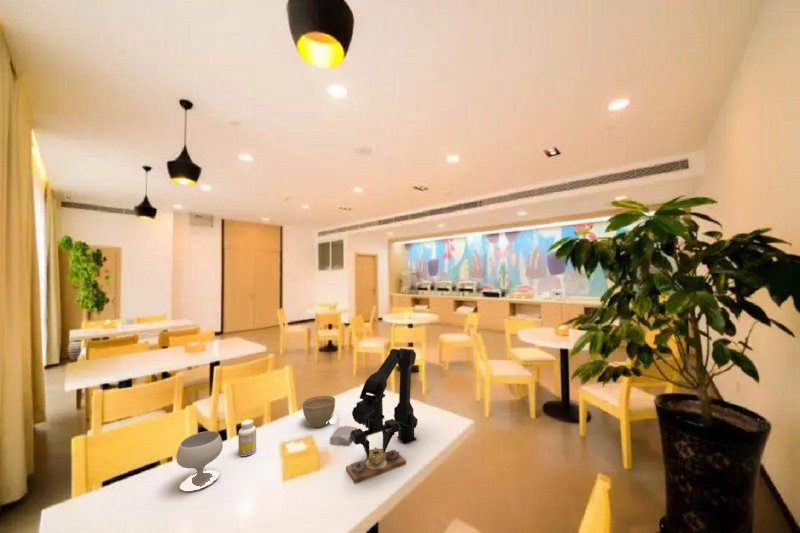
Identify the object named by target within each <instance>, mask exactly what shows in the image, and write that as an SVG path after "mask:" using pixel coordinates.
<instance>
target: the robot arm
mask: <svg viewBox="0 0 800 533" xmlns="http://www.w3.org/2000/svg"><path fill="white" fill-rule="evenodd" d="M416 357H417V353H416V352H415V351H414V349H410V348H403V347H402V348H398V349H397V348H393V349H390V351H389V354H388V355H387V357H386V358H385V360H384V361H383V363H382V364H381V366H380V367H379V368H378V369H377V371H375V372H374V373H372V374H370V376H369V377H368V378H366V380H365V382H364V384H363V387H362V390H361V393H360V396H359V399H360V401H357V402H356V406H354V407H353V409H352V412H351V415H352V418H353V420H354V421H355V423H358V425H362V426H364V427H365V429H366V430H363V429H361V427H359V428H357V429H356V430H352V431H351V433H350V438H351V440H352V442H353V444H355V445H361V446H362V447H363V450H364V453H365V454H366V455H367V457H369V449H370V441H369V440H368V437H369V436H372V435H375V434H379V433H382V448H383V451H386V450H387V449H388V446H389V443H390V442H391V440H392V437H394V436H395V433H397V435H398V436H397V437H396V438H397V439H398V440H399V441H400V442H401V443H403V445H406V444H408V443H412V442H414V441H415V442H416V441H417V438H416V436H415V428H417V425H418V421H419V420H418V418H417V417H416V416H415V414H414V411H415V410H414V408H413V406H412V403H411V389H412V388H411V385H412V384H411V382H412V381H411V380H412V368H413V366H414V365H415V364H416ZM397 365H398V366H399V392H398V393H399V396H398V397H399V398H398V403H397V405H396V406H395V407H394V409H393V418H390V419H388V420H385V421H384V419H385V415H384V412H383V410H384V409H383V408H384V406H383V405H384V404H383V403H384V402H383V399H384V398H385V397H386V394H385V390H386V388H387V386H388V379H389V377H390V376H391V375H392V372H393V371H394V369H395V368H396V366H397ZM386 452H387V451H386Z"/></svg>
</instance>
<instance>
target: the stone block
mask: <svg viewBox="0 0 800 533" xmlns="http://www.w3.org/2000/svg"><path fill="white" fill-rule="evenodd" d="M356 429H358V428H357V427H356V426H350V425H344V426H339V427H337V429H336V430H335V431H334V432H333V433H332V435H331V436H330V437H329V441H330V445H332V446H338V447H339V446H341V447H344V446H345V447H349V446H350V445H351V443H352V442H353V441H352V440H351V438H350V433H351V431H352V430H356Z"/></svg>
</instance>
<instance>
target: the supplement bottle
mask: <svg viewBox="0 0 800 533" xmlns="http://www.w3.org/2000/svg"><path fill="white" fill-rule="evenodd" d="M240 426H241V428H240V429H239V431H238V435H237V436H238V456H239V455H241V456H247V455H250V456H252V455H253V454H255V453H256V451H257V427H256V426H255V425H254V419H245V420H243V421H242V422H241V423H240ZM254 452H255V453H254ZM251 454H252V455H251ZM241 456H240V457H241ZM247 457H248V456H247Z"/></svg>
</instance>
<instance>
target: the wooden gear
mask: <svg viewBox="0 0 800 533" xmlns="http://www.w3.org/2000/svg"><path fill="white" fill-rule="evenodd" d="M374 452H378V454H377V455H376V454H374ZM386 452H387V451H383V447H381V448H380V447H374V448H372V449H370V448H369V457H367V455H366V456H365V457H366V458H365V459H367V460H369V463H376V464H378V463H379V462H384V458H386Z"/></svg>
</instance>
